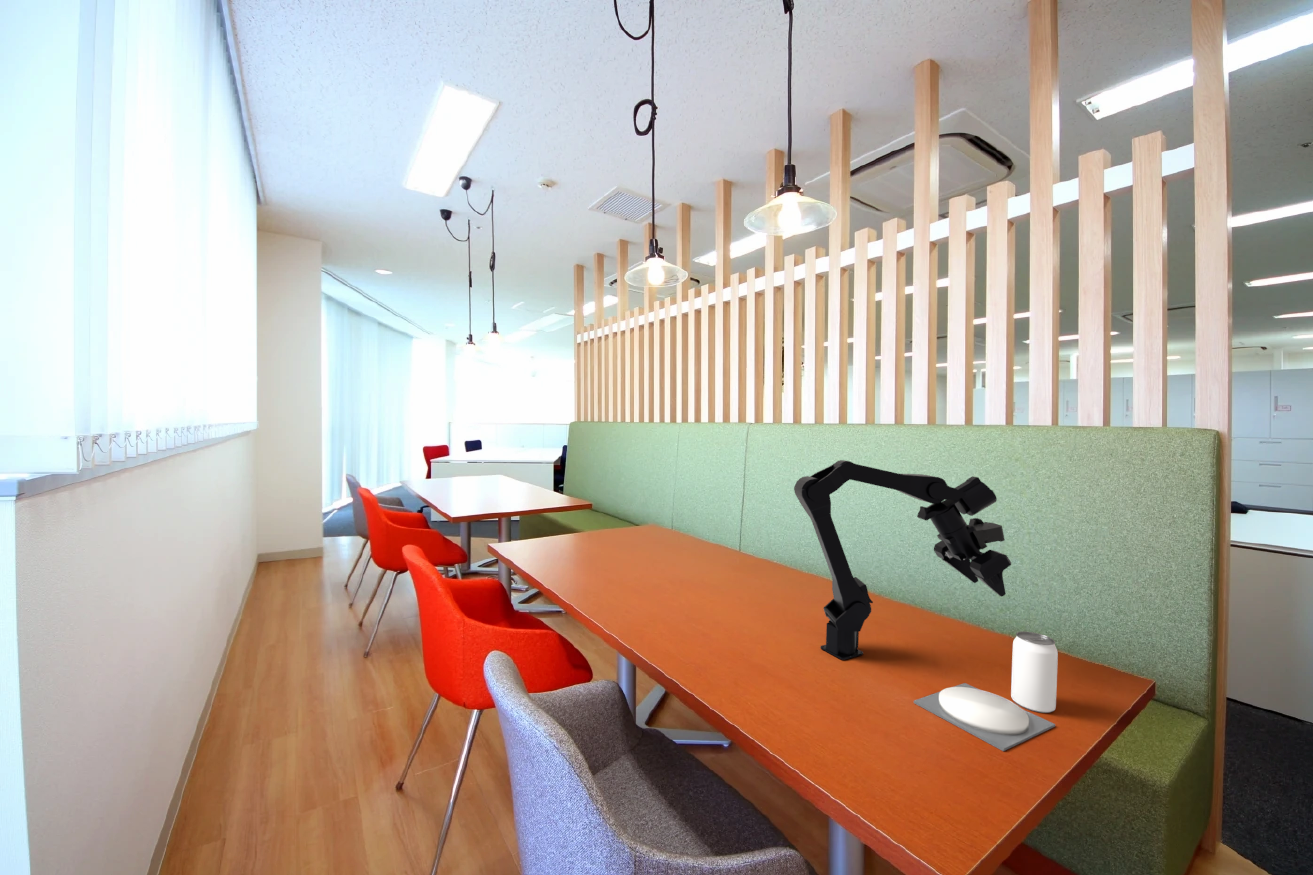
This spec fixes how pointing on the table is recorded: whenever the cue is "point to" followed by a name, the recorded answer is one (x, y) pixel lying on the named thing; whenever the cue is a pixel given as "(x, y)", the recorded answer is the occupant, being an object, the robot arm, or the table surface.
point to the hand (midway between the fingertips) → (989, 588)
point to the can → (1034, 672)
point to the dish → (985, 715)
